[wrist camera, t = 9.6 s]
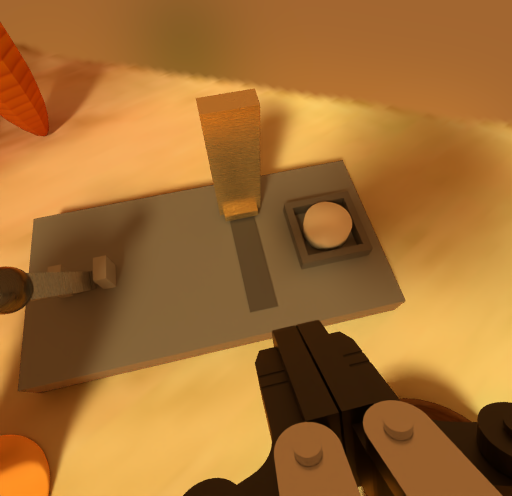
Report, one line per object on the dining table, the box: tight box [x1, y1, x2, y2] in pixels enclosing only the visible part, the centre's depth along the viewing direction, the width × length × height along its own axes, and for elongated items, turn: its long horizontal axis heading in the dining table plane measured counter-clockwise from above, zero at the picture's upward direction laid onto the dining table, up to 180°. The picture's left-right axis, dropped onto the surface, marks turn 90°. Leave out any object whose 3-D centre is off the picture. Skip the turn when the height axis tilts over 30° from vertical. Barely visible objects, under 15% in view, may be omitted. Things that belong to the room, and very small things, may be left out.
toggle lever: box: [0, 267, 97, 314], centre depth 17 cm, size 2×2×9 cm
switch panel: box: [18, 160, 405, 393], centre depth 23 cm, size 24×12×4 cm, turn 103°
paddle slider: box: [196, 89, 260, 221], centre depth 20 cm, size 3×2×9 cm
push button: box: [302, 202, 352, 251], centre depth 23 cm, size 3×3×1 cm
